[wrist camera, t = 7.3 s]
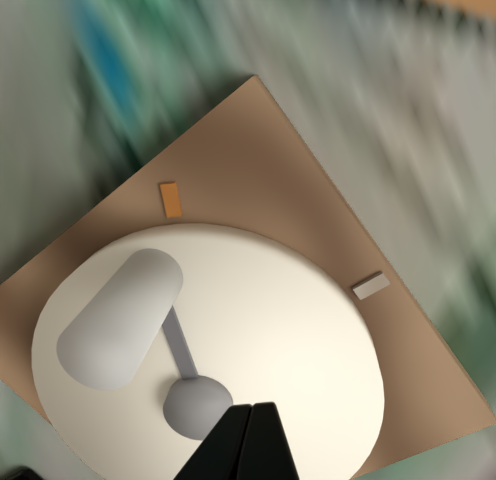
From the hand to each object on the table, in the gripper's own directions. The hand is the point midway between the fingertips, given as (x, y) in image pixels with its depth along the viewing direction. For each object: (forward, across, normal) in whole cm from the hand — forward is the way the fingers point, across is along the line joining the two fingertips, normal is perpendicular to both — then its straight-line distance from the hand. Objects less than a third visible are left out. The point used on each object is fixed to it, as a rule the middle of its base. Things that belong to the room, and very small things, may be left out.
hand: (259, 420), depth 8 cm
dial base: (+12, +5, +7) cm, 15 cm away
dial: (+10, +5, +7) cm, 13 cm away
